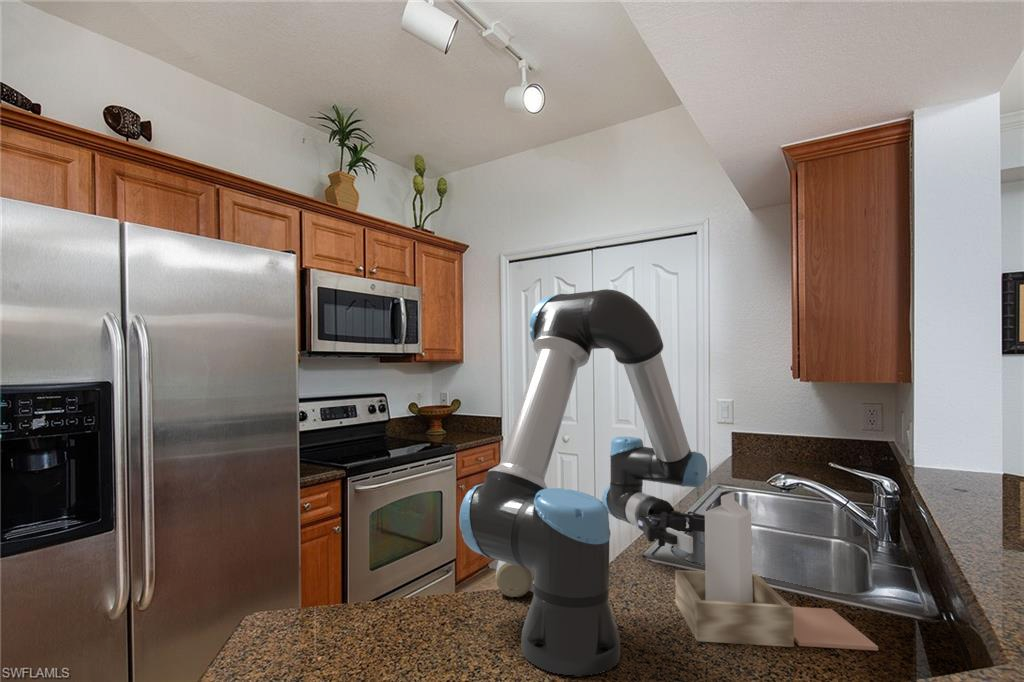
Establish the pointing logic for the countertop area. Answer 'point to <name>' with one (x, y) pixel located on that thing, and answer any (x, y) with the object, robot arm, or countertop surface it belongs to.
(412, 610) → the countertop surface
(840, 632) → the mat
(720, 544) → the milk
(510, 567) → the ceramic mug
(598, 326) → the robot arm
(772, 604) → the holder
